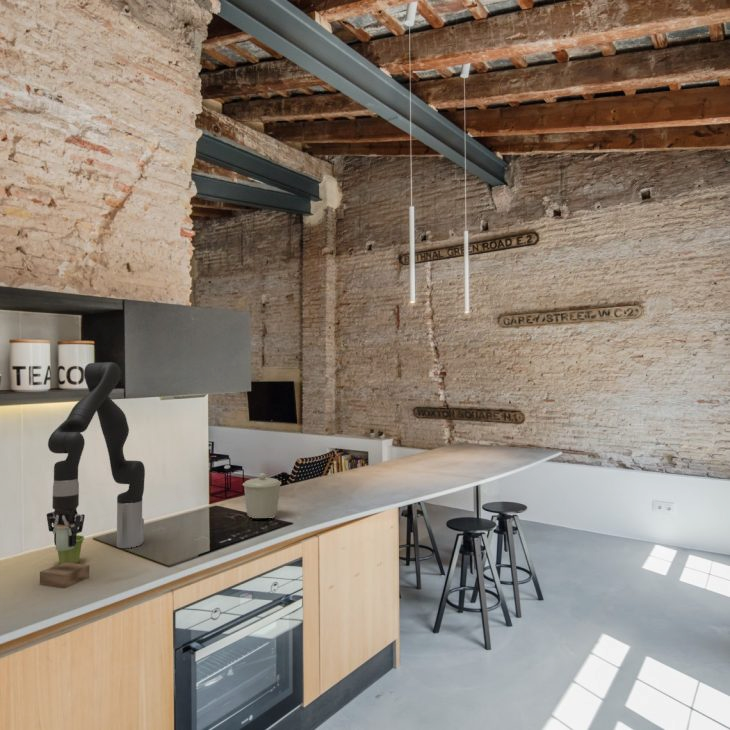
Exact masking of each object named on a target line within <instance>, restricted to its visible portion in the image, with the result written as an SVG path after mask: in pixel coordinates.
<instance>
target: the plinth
mask: <svg viewBox="0 0 730 730" xmlns="http://www.w3.org/2000/svg"><path fill="white" fill-rule="evenodd" d="M88 578H90V564H84V563H70V562H65V563H62V564H59V563H58V564H57V565H54V566H52V567H48V568H46V569H44V570H42V571H39V585H41V586H48V587H52V588H53V587H54V588H61V589H65V588H68V587H70V586H72V585H75V584H77V583H79V582H81V581H83V580H86V579H88Z"/></svg>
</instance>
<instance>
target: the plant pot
mask: <svg viewBox="0 0 730 730" xmlns="http://www.w3.org/2000/svg"><path fill="white" fill-rule="evenodd" d="M84 540H85V536H84V535H81V534H80V535H79V534H77V535H76V545H75V546H74V548H73V549H70V550H65V551H57V555H58V565H59V564H62V563H65V562H70V563H77V564H79V561H80V557H81V550H82V545H83V541H84Z"/></svg>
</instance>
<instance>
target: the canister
mask: <svg viewBox="0 0 730 730" xmlns="http://www.w3.org/2000/svg"><path fill="white" fill-rule="evenodd" d="M281 485H282V481H280V480H279V479H277V478H275V477H274V478H273V477H267V475H266V473H264V472H262V473H259V474H258V476H257V477H256V478H255V477H254V478H251V479H248V480H246V481H244V482H243V483H242V486H243V489H244V498H245V499H244V500H245V507H246V514H247V517H248V516H249V517H252V518H268V517H273V516H275V515H276V516H277V514H278V509H279V498H280V489H281V488H280V487H281ZM276 516H275V517H276ZM249 517H248V518H249Z"/></svg>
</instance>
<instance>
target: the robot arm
mask: <svg viewBox="0 0 730 730" xmlns="http://www.w3.org/2000/svg"><path fill="white" fill-rule="evenodd" d="M83 371H84V372H83V374H84V381H85V385H86V386H87V389H88V392H89V393H88V394H86V395H85V396H83V397H82V398H81V399H79V400H78V402H76V404H74V406H73V407H72V409H71V411H70V413H69V414H68V416H67V418H66V419H65V420H64V421H63V422H62V423H61V424H60V425H59V426H58V427H57V428H56V429H55V430H54V431H53V432H52V433H51V434H50V436H49V438H48V442H47V446H48V449H49V451H50V452H51V453H52V454H53V453H54V454H67V456H66V458H65V459H63V460H60V461H57V462H55V463H54V466H53V483H52V505H51V507H52V509H53V510H54V511H51V512H48V513H47V514H46V522H47V528H48V531H49V532H52V534H53V536H54V537H53V538H54V539H53V540H54V541H53V543H54V545H55V546H56V525H58V524H59V525H65V526H66V529H68V533H69V542H68V546H69V547H73V546H75V545H76V535H78V534H79V533H82V531H83V527H84V523H85V517H86V515H85V514H79V513H78V510H77V508H78V507H79V505H80V503H79V502H80V501H79V500H80V499H79V498H80V496H79V495H80V494H79V493H80V485H79V484H80V482H79V465H80V461H81V459H82V454H83V451H84V448H85V438H84V435H83V434H82V433H84V432H86V430H87V429H88V427H89V425H90V423H91V422H92V420H93V418H94V416H95V415H96V413H97V417H98V420H99V424H100V428H101V433H102V434H103V438H104V441H105V445H106V449H107V453H108V457H109V464H110V465H109V466H110V470H111V476H112V479H113V480H114V482H115V483H117V484H118V485H128V489H127V490H126V491H124V492H121V493H120V494H117V497H116V547H117V548H119V549H130V548H131V547H132V548H136V546H137V547H140V546H141V545H142V544H143V543H145V539H144V538H145V519H144V517H143V495H144V491H145V478H146V477H145V476H146V471H145V470H146V469H145V465H144V463H143V462H142V461H140V460H126V458H125V454H124V446H125V443H126V441H127V439H128V437H129V433H130V432H129V431H130V428H129V424H128V419H127V417H126V414H125V412H124V411H123V410H122V409H121V408H120V406H119V405H117V404H116V403H115V401H113V400H112V398H111V397H110V396H109V395H110V394H112V392H113V390H114V389H115V387H116V386H117V385H118V383H119V382H120V379H121V368H120V366H119V365H118V364H117V363H116V362H112V361H111V362H109V361H106V362H103V361H102V362H90V363H88V364H86V365H85V367H84V370H83ZM70 524H73V525H70ZM72 527H73V531H72Z"/></svg>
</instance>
